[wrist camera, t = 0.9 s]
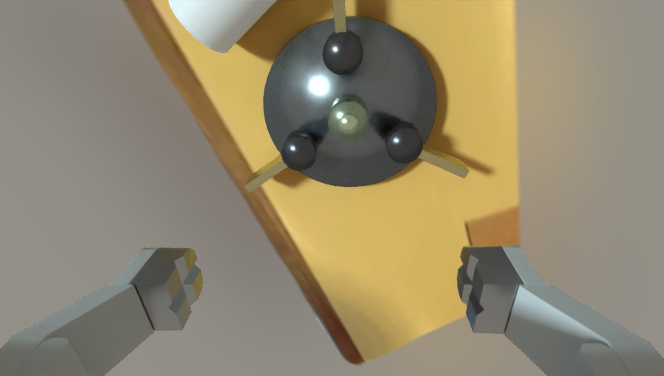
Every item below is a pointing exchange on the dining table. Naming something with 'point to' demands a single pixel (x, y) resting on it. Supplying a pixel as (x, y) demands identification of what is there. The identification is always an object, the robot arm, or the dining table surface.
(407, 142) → the knob
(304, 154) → the knob
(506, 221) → the dining table surface
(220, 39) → the mug
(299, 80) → the tribrach plate
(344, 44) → the knob
